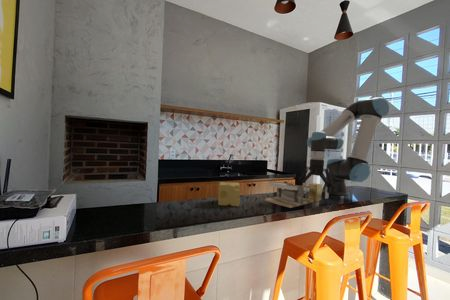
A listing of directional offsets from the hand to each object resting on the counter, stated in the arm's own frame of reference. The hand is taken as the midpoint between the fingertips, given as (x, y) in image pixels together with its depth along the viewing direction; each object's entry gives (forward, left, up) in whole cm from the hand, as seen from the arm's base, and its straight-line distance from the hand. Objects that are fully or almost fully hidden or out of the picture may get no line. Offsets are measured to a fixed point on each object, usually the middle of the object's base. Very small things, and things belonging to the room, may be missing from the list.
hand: (314, 196), depth 133 cm
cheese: (+49, -20, -2) cm, 53 cm away
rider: (0, 0, -2) cm, 2 cm away
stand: (+17, -5, -2) cm, 18 cm away
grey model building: (+18, -5, +2) cm, 19 cm away
